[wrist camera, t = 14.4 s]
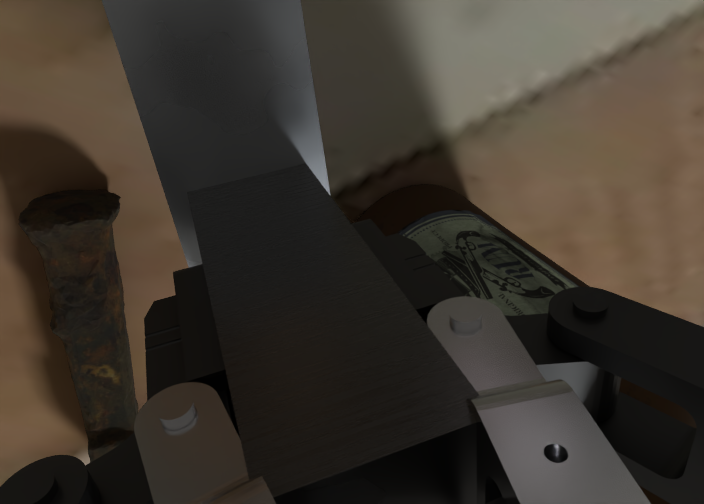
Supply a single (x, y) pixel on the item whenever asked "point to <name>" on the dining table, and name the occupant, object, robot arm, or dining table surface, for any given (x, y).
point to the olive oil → (489, 263)
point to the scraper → (291, 264)
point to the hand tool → (88, 307)
